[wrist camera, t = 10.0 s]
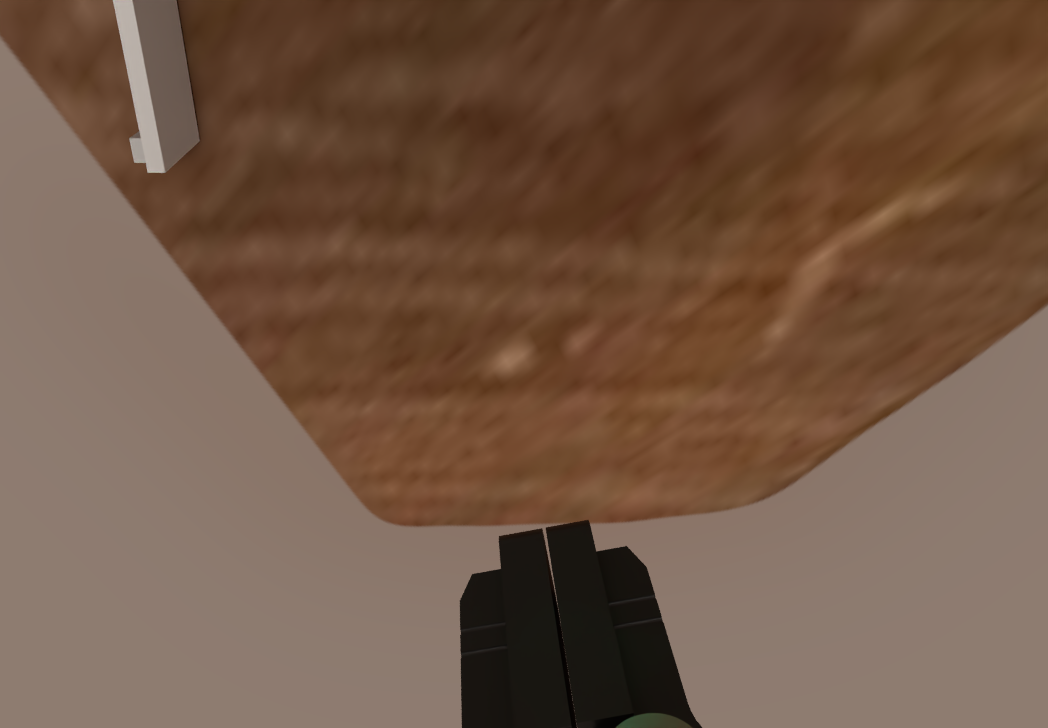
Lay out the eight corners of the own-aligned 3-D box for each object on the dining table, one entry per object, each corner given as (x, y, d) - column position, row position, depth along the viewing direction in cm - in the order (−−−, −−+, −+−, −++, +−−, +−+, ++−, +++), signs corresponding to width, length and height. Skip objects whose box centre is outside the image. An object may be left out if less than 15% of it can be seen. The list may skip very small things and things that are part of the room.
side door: (203, 143, 43) (169, 174, 37) (160, 142, 42) (119, 174, 37) (153, -167, 36) (103, -180, 30) (100, -169, 35) (41, -184, 30)
